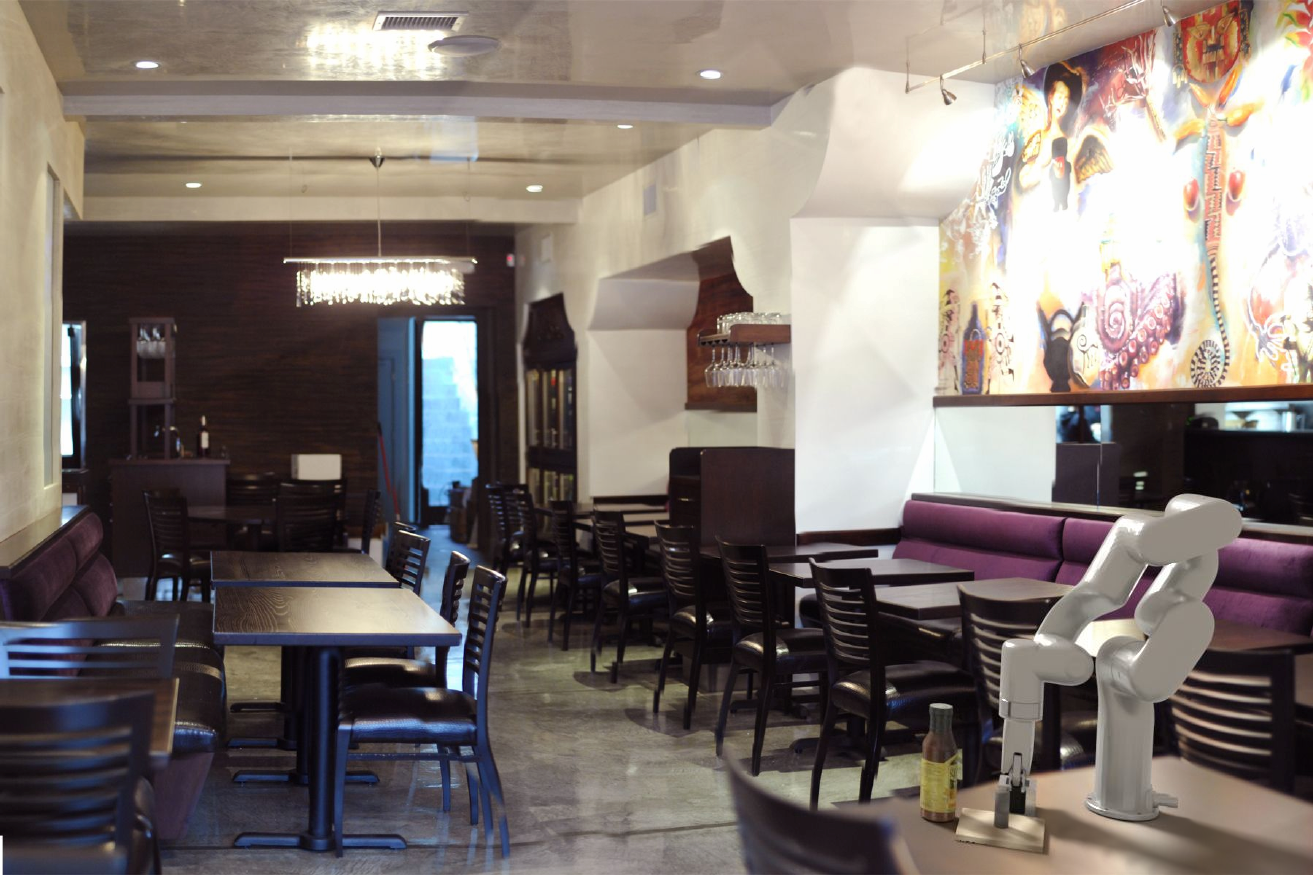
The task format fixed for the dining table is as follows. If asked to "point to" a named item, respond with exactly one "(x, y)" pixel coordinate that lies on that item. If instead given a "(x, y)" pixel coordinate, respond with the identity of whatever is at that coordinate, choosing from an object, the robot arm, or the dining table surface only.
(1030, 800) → the collar
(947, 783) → the sauce bottle
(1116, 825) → the dining table surface
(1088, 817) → the dining table surface
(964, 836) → the post block
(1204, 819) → the dining table surface
